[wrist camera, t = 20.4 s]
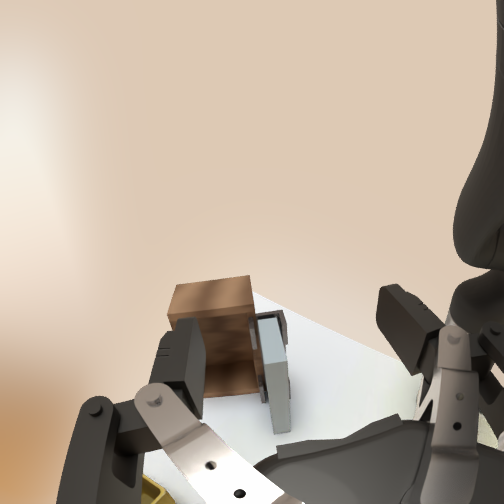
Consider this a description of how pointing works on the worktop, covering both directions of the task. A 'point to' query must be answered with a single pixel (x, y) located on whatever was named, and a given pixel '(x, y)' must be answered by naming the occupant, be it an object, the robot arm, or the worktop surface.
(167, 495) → the flower pot
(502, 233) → the robot arm
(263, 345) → the door
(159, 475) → the worktop surface
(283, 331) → the hinge clips
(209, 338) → the cabinet
